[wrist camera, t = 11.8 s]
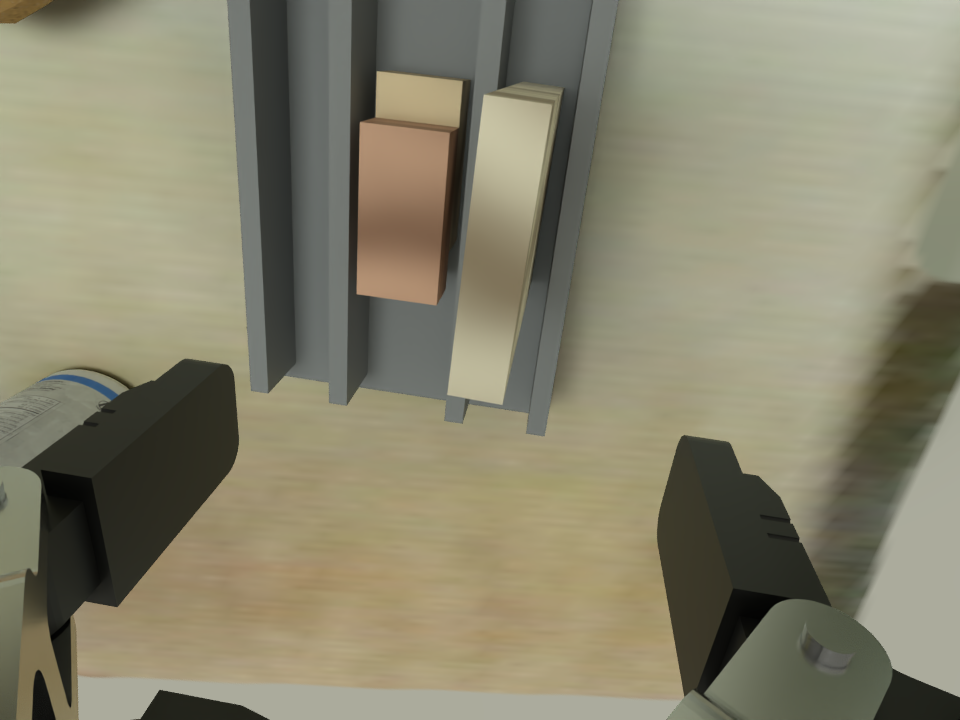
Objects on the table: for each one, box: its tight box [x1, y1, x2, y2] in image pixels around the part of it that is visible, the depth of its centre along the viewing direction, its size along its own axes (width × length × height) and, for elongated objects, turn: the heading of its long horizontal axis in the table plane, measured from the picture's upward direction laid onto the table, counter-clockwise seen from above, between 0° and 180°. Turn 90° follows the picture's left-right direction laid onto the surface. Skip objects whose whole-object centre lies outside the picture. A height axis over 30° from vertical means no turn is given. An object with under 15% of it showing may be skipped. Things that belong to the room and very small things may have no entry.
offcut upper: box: [357, 117, 459, 306], centre depth 31 cm, size 8×4×2 cm, turn 174°
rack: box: [227, 0, 618, 436], centre depth 33 cm, size 26×16×6 cm, turn 174°
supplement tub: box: [0, 369, 129, 468], centre depth 39 cm, size 10×10×15 cm
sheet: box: [447, 82, 565, 405], centre depth 27 cm, size 10×2×14 cm, turn 172°
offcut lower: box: [376, 70, 471, 251], centre depth 32 cm, size 8×4×2 cm, turn 174°
